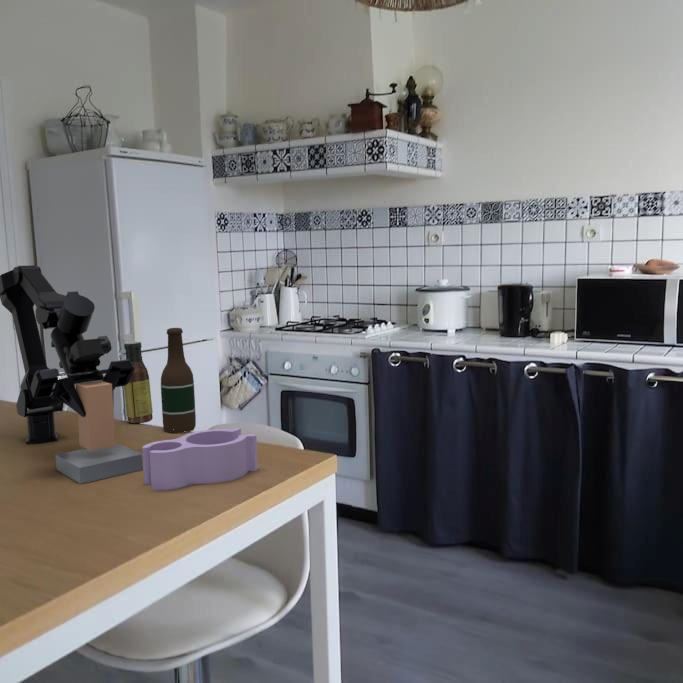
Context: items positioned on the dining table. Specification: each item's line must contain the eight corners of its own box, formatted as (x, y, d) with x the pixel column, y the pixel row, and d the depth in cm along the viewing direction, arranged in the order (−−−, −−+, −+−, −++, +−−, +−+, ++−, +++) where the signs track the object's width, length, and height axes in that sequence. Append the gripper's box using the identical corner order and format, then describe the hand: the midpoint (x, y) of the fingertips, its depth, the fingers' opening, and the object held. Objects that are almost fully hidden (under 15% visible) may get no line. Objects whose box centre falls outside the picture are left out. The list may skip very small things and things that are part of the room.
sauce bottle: (156, 418, 174) (152, 340, 172) (147, 424, 168) (142, 343, 166) (131, 418, 175) (126, 340, 173) (121, 424, 169) (116, 344, 167)
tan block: (79, 445, 132) (75, 384, 131) (105, 440, 136) (101, 380, 134) (90, 450, 129) (85, 387, 127) (115, 445, 132) (111, 383, 130)
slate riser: (56, 469, 133) (55, 454, 133) (116, 456, 141) (115, 442, 141) (80, 484, 124) (79, 467, 124) (142, 469, 132) (141, 454, 132)
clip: (160, 497, 117) (158, 457, 116) (136, 478, 127) (134, 442, 126) (264, 473, 128) (263, 437, 127) (235, 458, 138) (233, 425, 138)
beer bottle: (167, 435, 157) (161, 330, 154) (159, 428, 164) (153, 328, 161) (200, 430, 161) (195, 328, 158) (191, 423, 168) (186, 325, 165)
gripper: (30, 327, 126) (56, 395, 119) (127, 319, 138) (156, 380, 132) (20, 365, 133) (44, 431, 126) (113, 354, 145) (140, 414, 138)
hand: (98, 413), depth 130 cm, fingers closed on tan block, 5 cm apart
